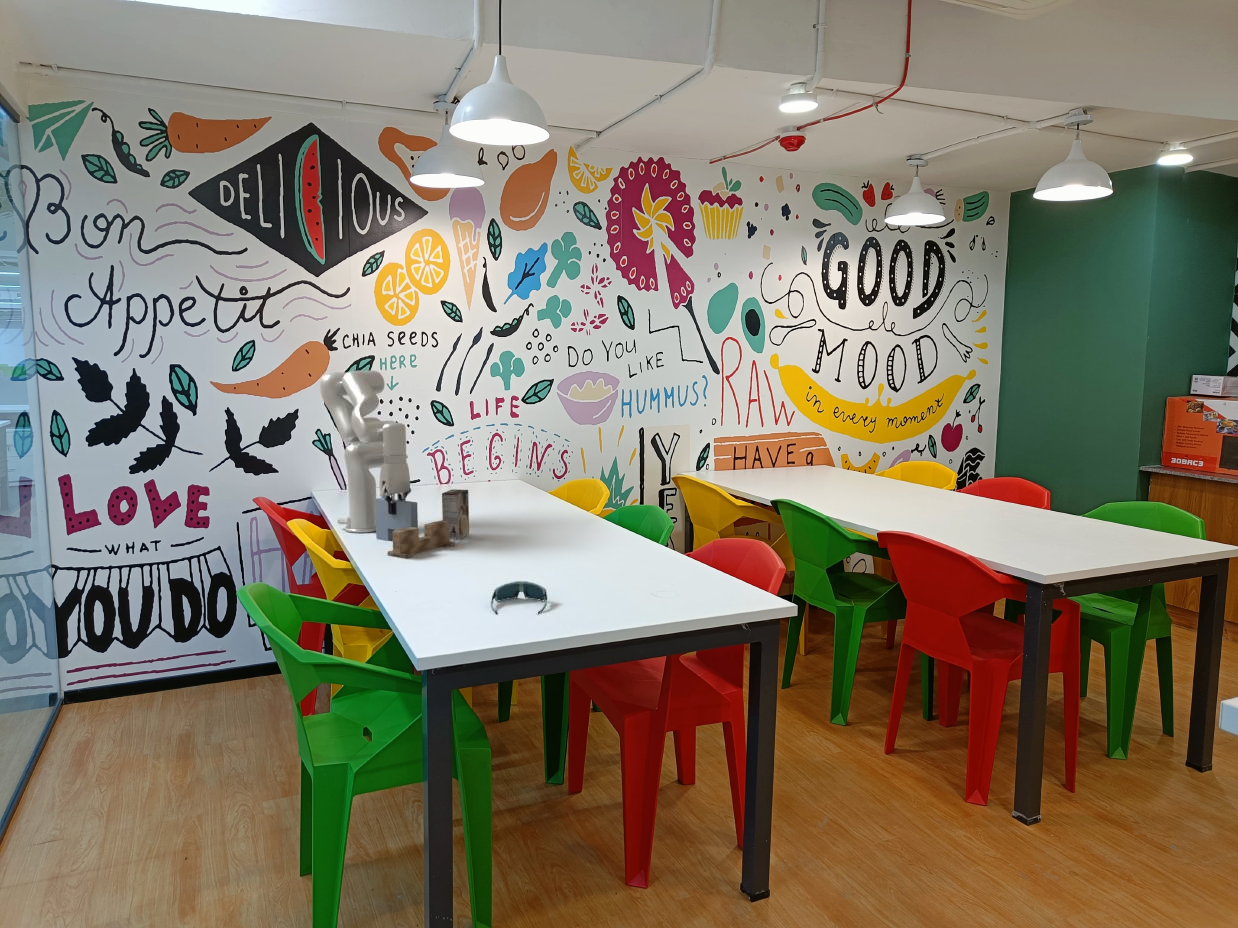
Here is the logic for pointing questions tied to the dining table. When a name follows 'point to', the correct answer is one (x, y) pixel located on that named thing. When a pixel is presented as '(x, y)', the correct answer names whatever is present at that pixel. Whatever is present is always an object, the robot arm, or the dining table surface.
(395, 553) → the slotted base board
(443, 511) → the coffee box
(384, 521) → the slate grey plank
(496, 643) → the dining table surface
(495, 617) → the dining table surface
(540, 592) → the sunglasses
